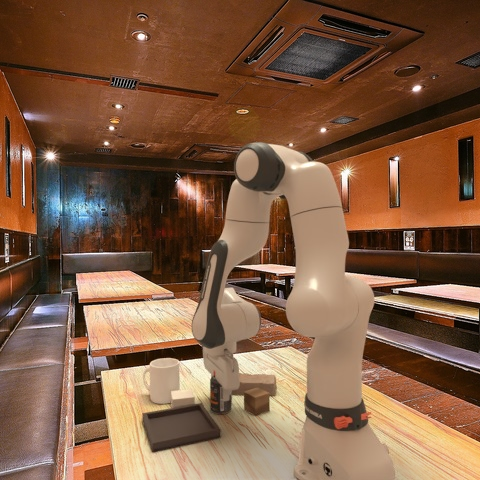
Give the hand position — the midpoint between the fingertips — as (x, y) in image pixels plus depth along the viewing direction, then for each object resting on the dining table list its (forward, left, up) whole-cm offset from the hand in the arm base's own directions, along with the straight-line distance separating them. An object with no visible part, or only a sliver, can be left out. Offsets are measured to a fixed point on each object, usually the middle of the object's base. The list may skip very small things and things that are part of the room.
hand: (220, 394), depth 107 cm
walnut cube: (-4, -9, -4) cm, 11 cm away
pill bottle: (0, 0, -4) cm, 4 cm away
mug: (+15, +14, -4) cm, 21 cm away
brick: (+10, -13, -5) cm, 17 cm away
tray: (-6, +13, -4) cm, 15 cm away
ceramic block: (+6, +9, -4) cm, 12 cm away
